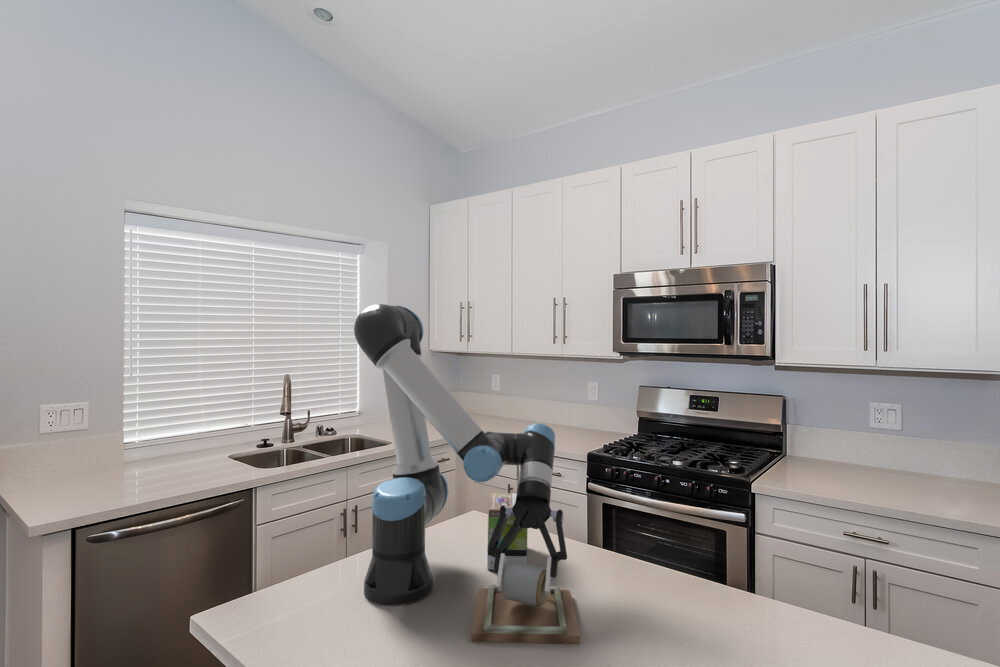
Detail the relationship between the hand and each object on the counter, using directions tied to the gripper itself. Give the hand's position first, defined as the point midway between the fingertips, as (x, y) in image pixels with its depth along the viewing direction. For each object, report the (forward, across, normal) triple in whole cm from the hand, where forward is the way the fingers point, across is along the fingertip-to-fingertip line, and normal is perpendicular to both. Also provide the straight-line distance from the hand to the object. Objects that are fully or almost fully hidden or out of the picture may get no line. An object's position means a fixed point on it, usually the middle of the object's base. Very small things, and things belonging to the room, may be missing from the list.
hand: (522, 591), depth 106 cm
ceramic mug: (-1, 0, -6) cm, 6 cm away
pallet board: (+3, 0, -7) cm, 7 cm away
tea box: (-17, +9, -27) cm, 33 cm away
